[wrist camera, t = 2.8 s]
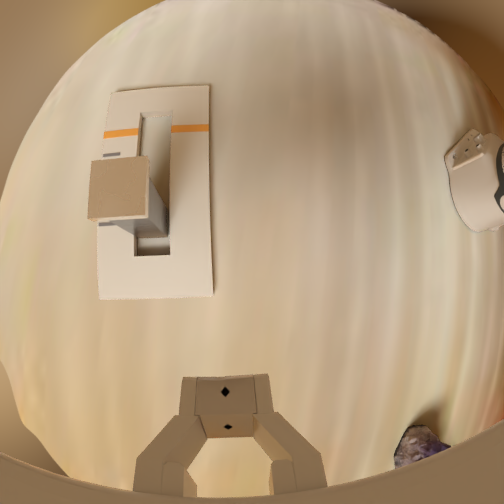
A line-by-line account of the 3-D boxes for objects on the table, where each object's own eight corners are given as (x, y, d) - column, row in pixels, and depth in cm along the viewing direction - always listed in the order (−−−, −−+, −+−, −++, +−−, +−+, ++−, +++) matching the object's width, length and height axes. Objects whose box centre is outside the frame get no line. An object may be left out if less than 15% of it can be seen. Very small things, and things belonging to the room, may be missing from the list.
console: (213, 295, 36) (213, 296, 35) (103, 298, 34) (98, 299, 33) (208, 91, 38) (209, 84, 37) (113, 98, 36) (110, 92, 34)
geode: (374, 448, 38) (413, 470, 29) (422, 409, 42) (462, 421, 32) (393, 508, 37) (423, 528, 28) (433, 473, 41) (465, 488, 31)
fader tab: (171, 240, 36) (145, 215, 20) (136, 242, 35) (87, 218, 19) (170, 205, 36) (147, 155, 20) (136, 207, 35) (91, 161, 19)
